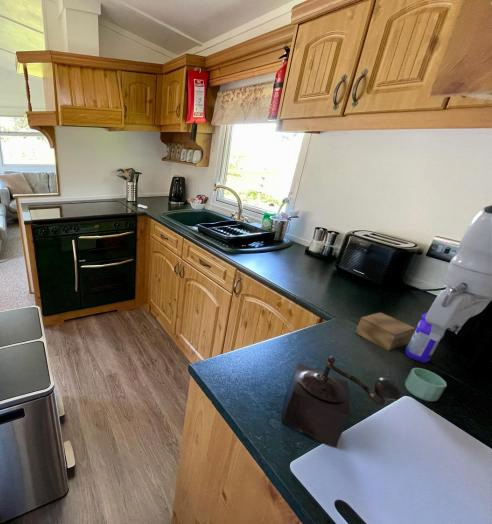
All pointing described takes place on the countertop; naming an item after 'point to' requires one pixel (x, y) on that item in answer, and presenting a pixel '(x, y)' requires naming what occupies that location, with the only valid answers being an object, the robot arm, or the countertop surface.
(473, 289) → the robot arm
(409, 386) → the bowl
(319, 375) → the manual coffee grinder
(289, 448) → the countertop surface
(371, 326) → the block
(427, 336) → the bottle
